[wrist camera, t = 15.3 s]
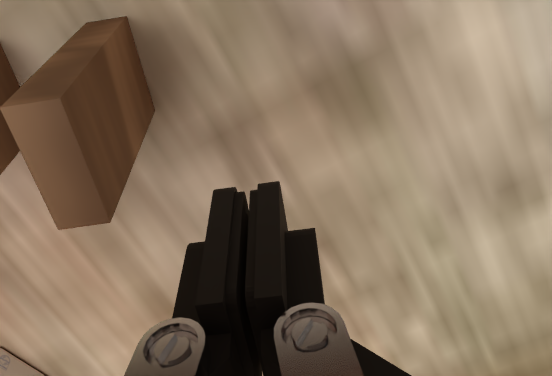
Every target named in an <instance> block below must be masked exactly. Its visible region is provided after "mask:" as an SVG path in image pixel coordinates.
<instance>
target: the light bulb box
mask: <svg viewBox="0 0 552 376" xmlns="http://www.w3.org/2000/svg"><path fill="white" fill-rule="evenodd" d="M0 376H45V375H43V374H42V373H40V372H39V371H37V370H35V369H34V368H32V367H31V366H29V365H27V364H26V363H24V362H22V361H21V360H19V359H18V358H16V357H15V356H13V355H11V354H10V353H8V352H7V351H5V350H4V349H2V348H0Z"/></svg>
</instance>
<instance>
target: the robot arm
mask: <svg viewBox="0 0 552 376" xmlns="http://www.w3.org/2000/svg"><path fill="white" fill-rule="evenodd" d="M262 372H263V376H411V375H409V374H408V373H406V372H404V371H403V370H401V369H400V368H398V367H396V366H395V365H393V364H391V363H390V362H388V361H386V360H385V359H383V358H381V357H380V356H378V355H376V354H375V353H373V352H371V351H370V350H368V349H366V348H365V347H363V346H362V345H360V344H358V343H357V342H355V341H353V340H352V339H350V337H349V334H348V331H347V329H346V326H345V323H344V321H343V319H342V317H341V316H340V314H339V313H338V312H337V311H335V310H334V309H333V308H331V307H329V306H327V305H325V303H324V295H323V287H322V279H321V271H320V263H319V255H318V248H317V240H316V233H315V228H310V229H302V230H294V231H288V228H287V222H286V216H285V210H284V204H283V198H282V193H281V187H280V182H279V181H277V182H269V183H262V184H258V190H252V191H250V204H249V208H248V204H247V199H246V195H245V192H237V189H236V187H231V188H224V189H216V190H214V191H213V196H212V202H211V208H210V214H209V220H208V227H207V233H206V239H205V242H197V243H190V244H189V245H188V246H187V249H186V254H185V259H184V264H183V269H182V274H181V278H180V283H179V288H178V293H177V298H176V302H175V307H174V312H173V317H172V319H168V320H165V321H163V322H160V323H158V324H157V325H155V326H153V327H152V328H151V329H149V330H148V331H147V332H146V333H145V334H144V335H143V337H142V338H141V340H140V342H139V343H138V345H137V347H136V350H135V352H134V354H133V356H132V359H131V361H130V363H129V365H128V368H127V370H126V372H125V375H124V376H262Z"/></svg>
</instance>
